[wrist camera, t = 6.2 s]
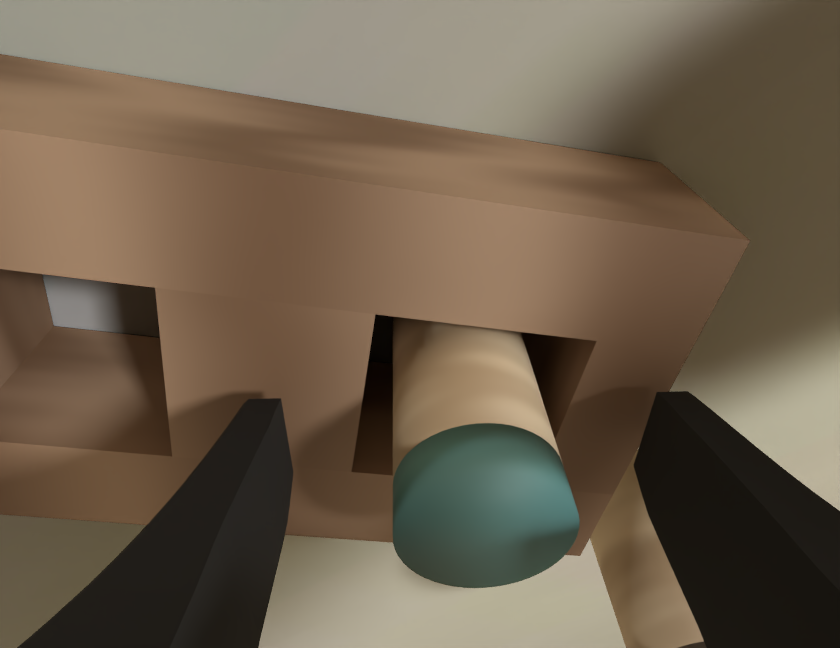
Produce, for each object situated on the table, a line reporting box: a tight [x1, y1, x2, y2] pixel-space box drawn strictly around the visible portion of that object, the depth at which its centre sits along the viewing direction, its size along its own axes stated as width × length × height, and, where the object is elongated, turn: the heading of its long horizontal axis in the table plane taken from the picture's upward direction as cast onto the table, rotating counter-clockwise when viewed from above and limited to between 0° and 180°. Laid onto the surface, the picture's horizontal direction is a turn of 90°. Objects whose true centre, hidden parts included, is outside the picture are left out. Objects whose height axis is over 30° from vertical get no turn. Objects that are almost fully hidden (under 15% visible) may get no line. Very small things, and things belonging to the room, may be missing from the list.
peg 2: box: [590, 450, 707, 648], centre depth 16 cm, size 3×3×7 cm
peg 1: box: [393, 317, 580, 588], centre depth 12 cm, size 3×3×7 cm
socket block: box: [0, 54, 750, 556], centre depth 13 cm, size 16×9×4 cm, turn 80°
